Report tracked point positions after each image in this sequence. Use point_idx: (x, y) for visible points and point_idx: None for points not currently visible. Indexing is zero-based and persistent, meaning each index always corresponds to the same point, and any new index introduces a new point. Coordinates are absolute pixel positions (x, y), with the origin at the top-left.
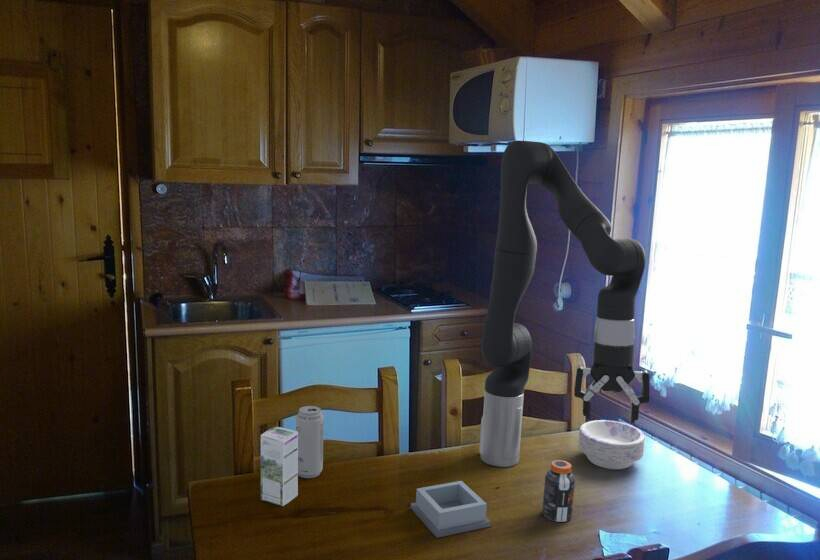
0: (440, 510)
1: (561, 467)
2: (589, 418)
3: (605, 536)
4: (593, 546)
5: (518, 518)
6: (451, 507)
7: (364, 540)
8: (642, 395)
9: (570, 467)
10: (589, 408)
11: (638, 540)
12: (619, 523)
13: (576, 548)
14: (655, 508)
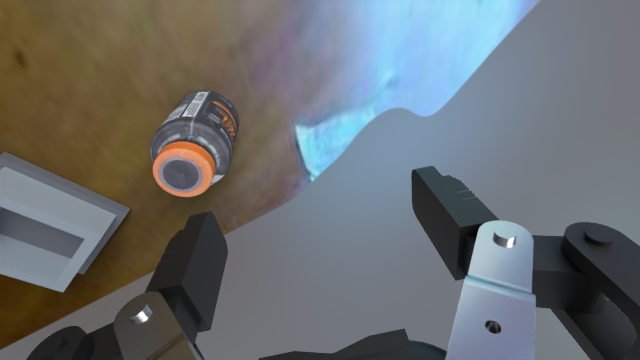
0: (56, 287)
1: (193, 193)
2: (226, 251)
3: (309, 143)
4: (296, 179)
5: (153, 163)
6: (62, 273)
7: (16, 312)
8: (576, 287)
9: (212, 177)
10: (214, 295)
11: (362, 127)
12: (326, 84)
13: (275, 196)
14: None
